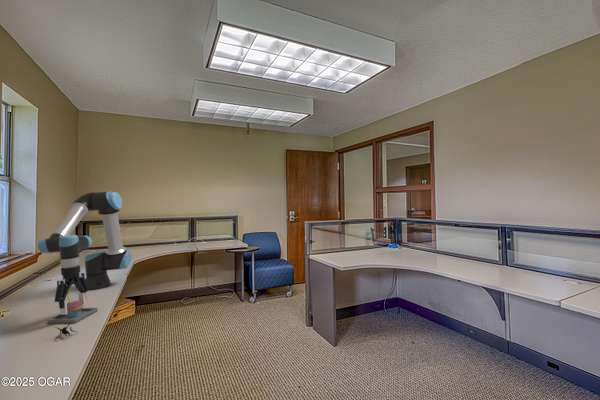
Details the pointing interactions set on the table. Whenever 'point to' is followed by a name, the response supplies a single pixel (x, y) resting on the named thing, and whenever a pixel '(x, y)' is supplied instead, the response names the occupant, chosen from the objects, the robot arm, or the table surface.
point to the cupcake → (73, 308)
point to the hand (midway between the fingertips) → (73, 309)
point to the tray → (64, 318)
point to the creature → (64, 331)
